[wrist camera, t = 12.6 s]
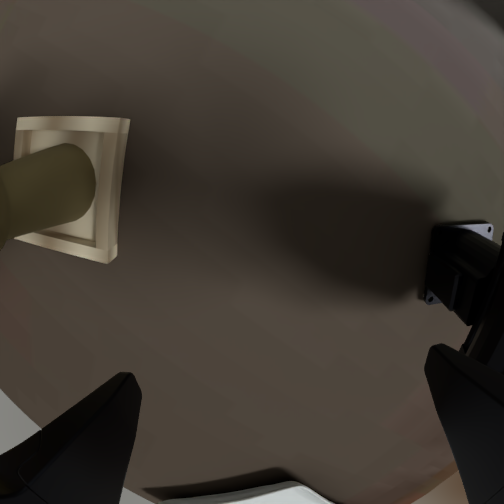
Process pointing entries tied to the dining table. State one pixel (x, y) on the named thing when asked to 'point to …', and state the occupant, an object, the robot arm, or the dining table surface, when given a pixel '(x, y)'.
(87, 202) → the olive green cylinder
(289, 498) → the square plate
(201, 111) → the dining table surface
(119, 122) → the holder
